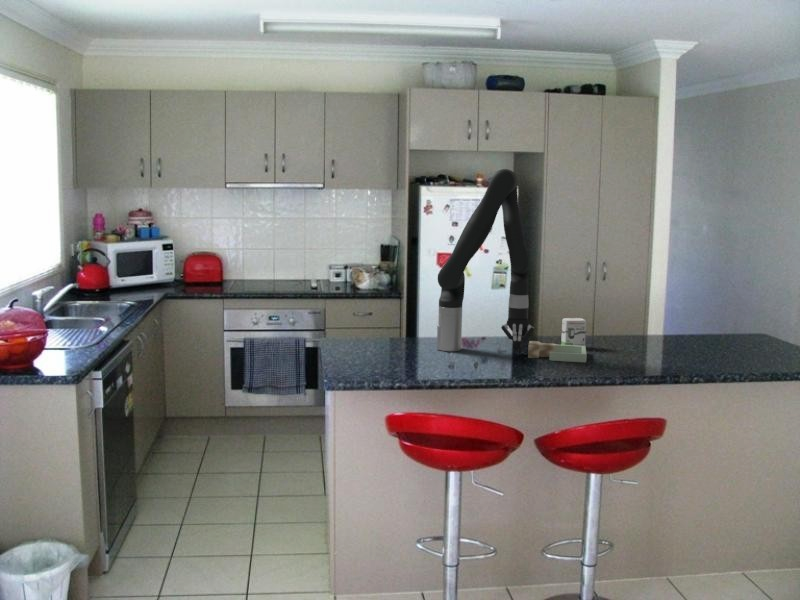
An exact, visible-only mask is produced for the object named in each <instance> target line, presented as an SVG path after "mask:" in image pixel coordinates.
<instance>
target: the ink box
mask: <svg viewBox="0 0 800 600" xmlns="http://www.w3.org/2000/svg"><path fill="white" fill-rule="evenodd" d="M561 321H562V322H561V323H562V324H561V338H560V339H561V343H560V345H575V346H585V347H586V333H587V330H586V329H587V320H586V319H584V318H582V317H572V318H571V317H565V318H564V317H563V318H562V319H561Z"/></svg>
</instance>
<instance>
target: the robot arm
mask: <svg viewBox="0 0 800 600" xmlns="http://www.w3.org/2000/svg"><path fill="white" fill-rule="evenodd" d="M518 200H519V199H518V177H517V174H516V173H515V172H514V171H513V170H511V169H508V168H503V169H499V170H497V171H495V172H494V173H493V174H492V176H491V178H490V181H489V183H488V187H487V188H486V191H485V193H484V195H483V197H482V199H481V200H480V202H479V204H478V205H477V207H476V208H475V209H474V211H473V212H472V214H471V216H470V217H469V219H468V221H467V223H466V224H465V226H464V227H463V230H462V232H461V233H460V235H459V238H458V240H457V242H456V244H455V246H454V248H453V251H452V253H451V254H450V255H449V258H448V259H447V260H446V262H445V263H444V265H443V266H442V267H441V269H440V270H439V272H438V273H437V283H438V285H439V287H440V288H441V292H440V296H439V300H438V322H437V323H438V325H436V327H437V328H436V329H437V331H436V334H437V335H436V350H437V351H444V352H458V351H461V350H462V332H463V330H462V329H463V304H464V303H463V302H464V298H465V297H464V296H465V284H466V283H465V281H466V279H465V276H466V275H465V270H466V268H467V266H468V264H469V263H470V261H471V260H472V258H473V257H474V256H475V254H476V253H477V252H478V251H479V250H480V248H481V247H482V246H483V245H484V243H485V242H486V240H487V238H488V236H489V235H490V233H491V230H492V228H493V226H494V224H495V221H496V218H497V214H498V213H499V211H500V209H501V208H502V219H503V231H504V236H505V241H506V245H507V248H508V254H509V262H510V283H509V296H508V313H507V320H506V323H505V324H502V325H501V327H500V328H501V330H502V331H503V332H504V334H505V335H506V337H507V338H508V339H509V340H511V341H512V348H513V349H514V352H515V351H516V352H518V351H519V350H521V347H522V346H521V345H522V341H525V340H526V339H528V337H529V336H530V334H532V332H533V331H534V330H535V327H534V326H532V325H531V324H530V322H529V305H530V303H529V269H530V259H529V256H528V250H527V246H526V238H525V232H524V228H523V222H522V218H521V217H522V216H521V213H520V208H519V201H518ZM508 329H510V330H508ZM526 329H527V331H526V332H525V330H526ZM510 331H511V332H512V334H511V332H510ZM524 332H525V334H523V333H524ZM517 334H518V335H517ZM522 334H523V335H522Z"/></svg>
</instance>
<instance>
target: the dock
mask: <svg viewBox="0 0 800 600" xmlns="http://www.w3.org/2000/svg"><path fill="white" fill-rule="evenodd" d="M554 344H555V352H550V357H549V361H554V362H568V363H569V362H570V363H587V356H588V355H587V349H586V348H587V347H586V345H585V346H575V345H561V344H556V343H554Z"/></svg>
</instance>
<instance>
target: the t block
mask: <svg viewBox="0 0 800 600" xmlns="http://www.w3.org/2000/svg"><path fill="white" fill-rule="evenodd" d="M555 344H556V343H550V342H549V343H547V342H540V341H538V340H537V341H536V340H529V342H528V348H527V350H528V353H527V354H528V355H527V358H528V359H529V358H530V359H539V358H540V357H541V358H550V352H555Z"/></svg>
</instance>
